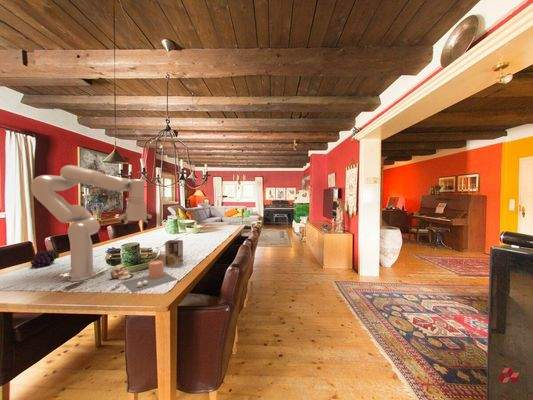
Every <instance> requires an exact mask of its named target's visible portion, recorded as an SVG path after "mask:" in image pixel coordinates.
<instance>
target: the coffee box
mask: <svg viewBox="0 0 533 400" xmlns="http://www.w3.org/2000/svg"><path fill="white" fill-rule="evenodd" d="M183 242H184V240H182V239H181V240H179V239H178V240H177V239H169V240H167V241H164V249H165V250H164V253H165V255H164V256H165V257H164V258H165V268H166V267H167V268H180V267H181V266H182V265H184V251H183V250H184V248H183V246H184V244H183Z"/></svg>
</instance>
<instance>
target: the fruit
mask: <svg viewBox="0 0 533 400" xmlns="http://www.w3.org/2000/svg"><path fill="white" fill-rule="evenodd" d="M59 258H60V253H57V252H56V251H55V250H53V249H51V250H50V249H48V250H39V252H38V253H37V254H36V256H35V257H33V258H32V260H31V261H30V262H29V263H30V264H31V268H33V269H34V268H37V269H38V268H39V267H45V266H50V265H52V264H53V263H54V262H55V261H56V260H57V259H59Z"/></svg>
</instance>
